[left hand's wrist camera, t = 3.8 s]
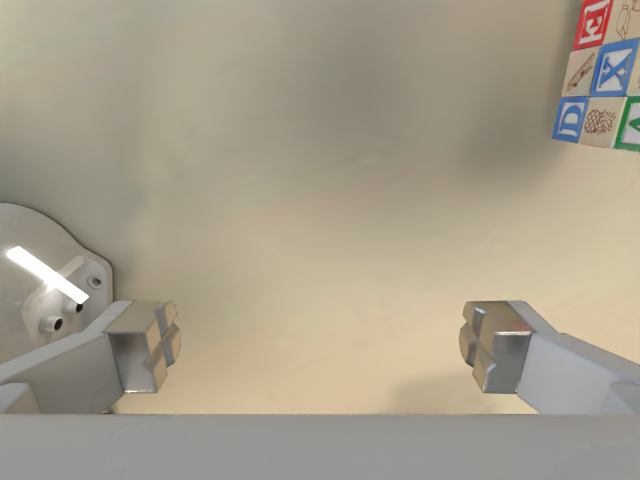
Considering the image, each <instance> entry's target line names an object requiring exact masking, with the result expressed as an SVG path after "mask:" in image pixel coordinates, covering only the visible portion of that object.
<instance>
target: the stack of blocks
mask: <svg viewBox="0 0 640 480" xmlns="http://www.w3.org/2000/svg"><path fill="white" fill-rule="evenodd" d="M552 138H553V139H556V140H562V141H567V142H573V143H580V144H583V145H589V146H595V147H602V148H609V149H619V150H626V151H633V152H640V0H583V6H582V9H581V14H580V18H579V22H578V26H577V32H576V36H575V40H574V45H573V52H571V54H570V57H569V62H568V66H567V71H566V75H565V80H564V84H563V89H562V94H561V100H560V103H559V108H558V112H557V117H556V122H555V126H554V131H553V136H552Z"/></svg>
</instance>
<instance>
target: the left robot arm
mask: <svg viewBox="0 0 640 480" xmlns="http://www.w3.org/2000/svg"><path fill="white" fill-rule="evenodd" d="M96 278H97V279H99V280H100V282H98V281H97V279H96ZM176 317H177V311H176V306H175V304H174V303H173V302H172V301H135V300H122V301H115V302H114V303H113V272H112V267H111V265H110V264H109V263H108V262H107V261H106V260H105V259H103V258H101V257H100V256H98V255H96V254H94V253H92V252H91V251H89V250H87V249H85V248H83V247H82V246H81V245H80V244H79V243H78V242H77V241H76V240H75V239H74V238H73V237H72V236H71V235H70V234H69V233H68V232H67V231H66V230H65V229H64V228H62V227H61V226H60V225H59V224H57V223H56V222H54V221H53V220H51V219H50V218H48V217H47V216H45V215H43V214H41V213H39V212H37V211H35V210H32V209H29V208H27V207H23V206H20V205H15V204H9V203H0V480H640V365H639V364H637V363H634V362H632V361H629V360H627V359H625V358H622V357H620V356H618V355H615V354H613V353H611V352H608V351H606V350H603V349H601V348H599V347H596V346H594V345H592V344H589V343H587V342H585V341H582V340H580V339H578V338H575V337H573V336H570V335H568V334H566V333H558V332H557V331H556V330H555V329H554V328H553V327H552V326H551V325H550V324H549V323H548V322H547V321H546V320H545V319H543V318H542V317H541V316H540V315H539V314H538V313H537V312H536V311H535V310H534V309H533V308H532V307H531V306H530V305H529V304H528V303H527V302H525V301H522V300H511V301H471V302H466V304H465V306H464V310H463V317H464V318H465V320H466V321H467V322H466V324H465V325H464V326H463V327H462V328H461V329H460V335H459V344H460V351H461V354H462V357H463V359H464V360H465V362H466V363H467V364H468V365H470V366H472V367H473V374H472V375H473V376H474V378H475V380H476V382H477V383H478V385H479V387H480V389H481V390H482V392H483V393H499V394H517V396H518V397H519V398H521V399H522V400H523V401H525V402H526V403H527V404H528V405H530V406H531V407H532V408H534V409H535V410H536V411H538V412H539V413H540V414H109V413H102V414H100V413H101V412H103V411H104V410H105V409H106V408H108V407H109V406H110V405H112V404H113V403H114V402H116V401H117V400H118V399H120V398H121V397H122V396H123V394H140V393H157V392H158V390H159V389H160V387H161V385H162V383H163V382H164V380H165V378H166V376H167V375H168V374H167V367H168V366H170V365H172V364H173V363H174V362H175V360H176V359H177V357H178V354H179V350H180V346H181V334H180V329H179V328H178V327H177V326H176V325H175V324H174V322H173V321H174V320H175V318H176Z"/></svg>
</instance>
